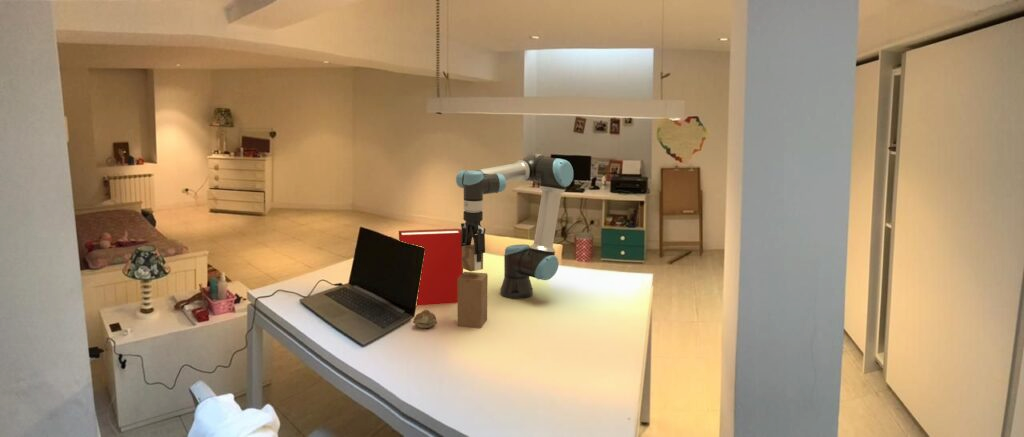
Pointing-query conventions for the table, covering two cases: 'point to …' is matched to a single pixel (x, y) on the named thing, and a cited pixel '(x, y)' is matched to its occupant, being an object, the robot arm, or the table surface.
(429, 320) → the seashell
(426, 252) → the book
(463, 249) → the walnut block
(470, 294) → the wooden block
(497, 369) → the table surface
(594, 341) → the table surface
